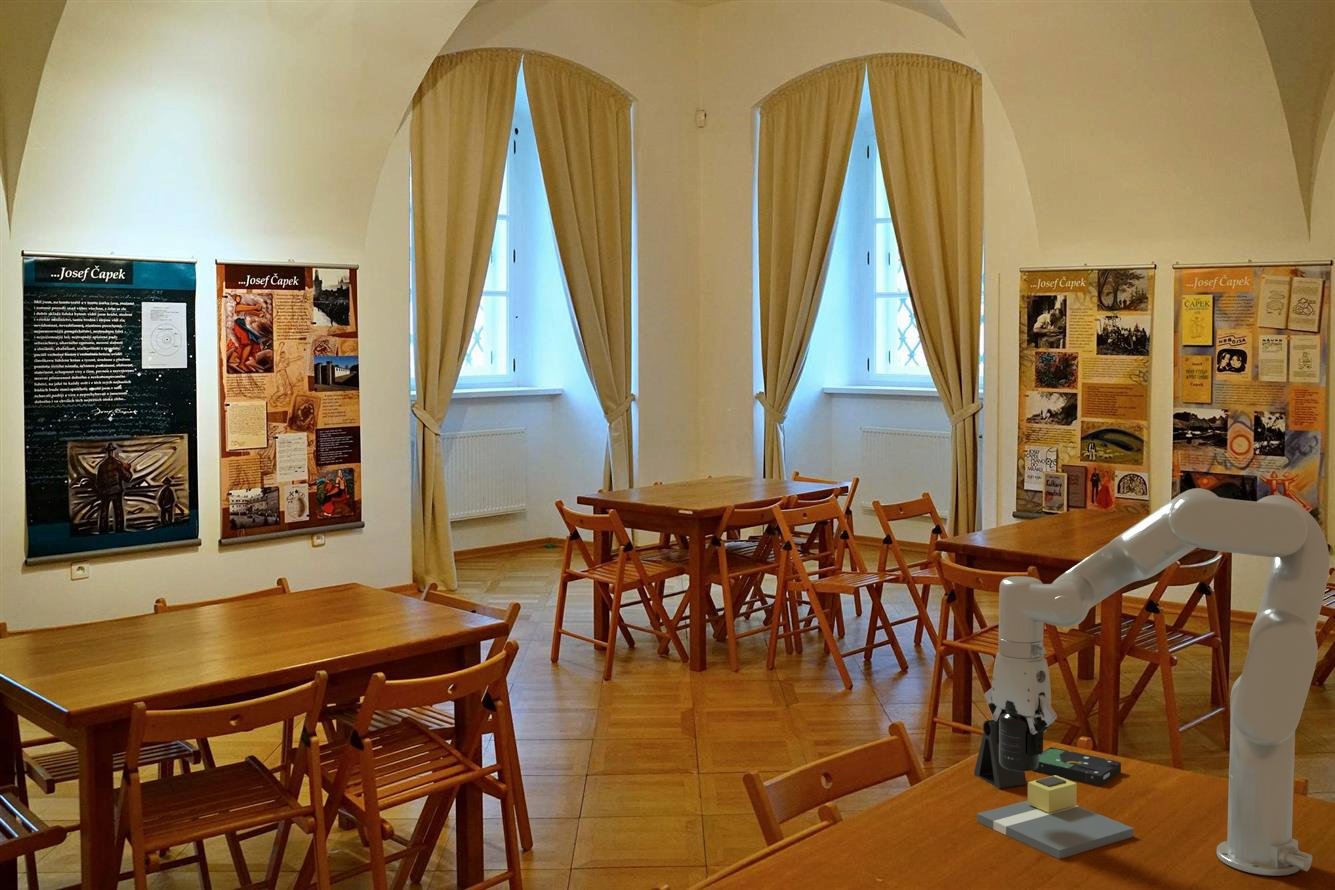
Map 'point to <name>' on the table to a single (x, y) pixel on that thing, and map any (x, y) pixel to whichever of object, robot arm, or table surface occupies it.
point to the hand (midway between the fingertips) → (1018, 747)
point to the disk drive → (1077, 766)
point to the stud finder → (1052, 793)
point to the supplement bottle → (1015, 741)
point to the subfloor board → (1055, 828)
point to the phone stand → (995, 762)
